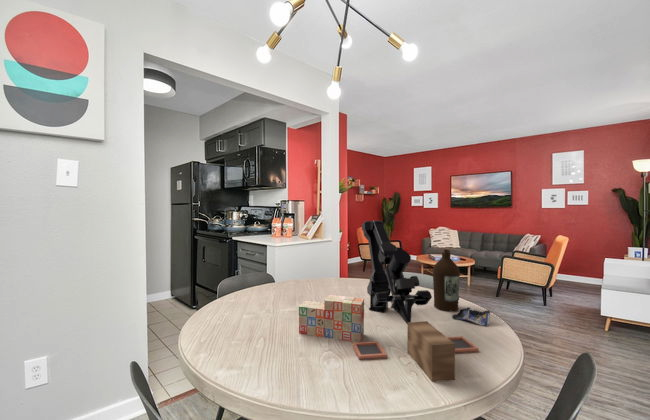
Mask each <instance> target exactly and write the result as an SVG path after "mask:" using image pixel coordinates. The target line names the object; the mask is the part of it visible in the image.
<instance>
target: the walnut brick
mask: <svg viewBox="0 0 650 420" xmlns="http://www.w3.org/2000/svg"><path fill="white" fill-rule="evenodd" d="M447 337H448V336H446V335H444V333H442V332H441V331H440V330H438V329H437V328H436V327H435V326H433V325H432V324H431V323H430V322H428V321H427V320H425V321H423V320H422V321H411V322H408V325H407V338H406V339H407V347H406V350H407V354H408V355H409V356H410V358H411V359H412V360H413V361H414V362H415V364H416V365H417V366H418V367H419V368H420V369H421V371H422V372H423V373H424V374H425V376H427V377H428V379H429V380H430V381H431V382H432V383H434V382H442V381H443V382H446V381H455V380H456V378H455V377H456V372H455V371H456V359H455V358H456V353H455V343H453V342H452V341H451V340H450V339H448V338H447Z"/></svg>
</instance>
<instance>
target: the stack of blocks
mask: <svg viewBox="0 0 650 420" xmlns="http://www.w3.org/2000/svg"><path fill="white" fill-rule="evenodd" d="M364 331H365V298H359V297H354V296H343V295H331V294H329V295H328V296H327V297H326V298H325V300H324V302H319V301H308V300H305V301H303V302H302V303H301V304H300V305H299V306H298V334H304V335H308V336H316V337H322V338H327V337H329V338H330V339H334V338H335V340H342V341H348V342H352V343H358V342H362V339H363V338H364V336H365V332H364Z"/></svg>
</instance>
